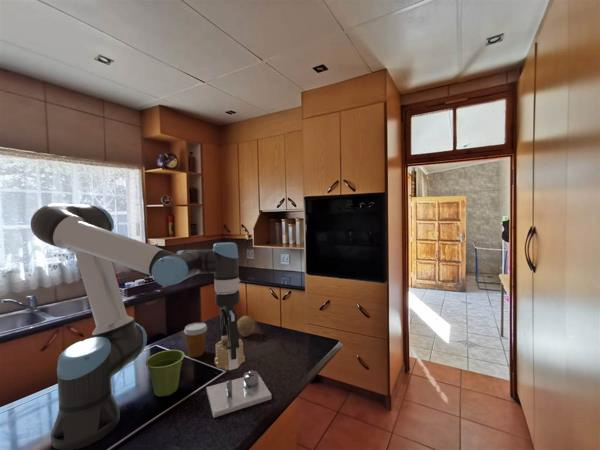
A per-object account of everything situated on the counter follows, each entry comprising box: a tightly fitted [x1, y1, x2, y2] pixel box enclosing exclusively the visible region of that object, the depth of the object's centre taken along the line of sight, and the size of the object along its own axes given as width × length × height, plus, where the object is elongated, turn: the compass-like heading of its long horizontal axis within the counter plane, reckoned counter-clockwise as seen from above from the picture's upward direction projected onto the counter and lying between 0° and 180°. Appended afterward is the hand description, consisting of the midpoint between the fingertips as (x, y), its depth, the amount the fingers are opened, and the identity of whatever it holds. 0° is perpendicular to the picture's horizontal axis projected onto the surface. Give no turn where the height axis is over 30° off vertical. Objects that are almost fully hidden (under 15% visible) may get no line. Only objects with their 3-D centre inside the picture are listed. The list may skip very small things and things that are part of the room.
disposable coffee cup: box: [183, 322, 208, 358], centre depth 120 cm, size 10×10×12 cm
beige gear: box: [214, 338, 246, 371], centre depth 89 cm, size 9×9×6 cm
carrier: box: [205, 369, 272, 418], centre depth 91 cm, size 18×14×6 cm
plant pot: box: [145, 349, 186, 398], centre depth 94 cm, size 12×12×11 cm
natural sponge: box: [237, 315, 256, 338], centre depth 138 cm, size 9×9×10 cm
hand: (229, 361), depth 89 cm, fingers closed on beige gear, 9 cm apart
